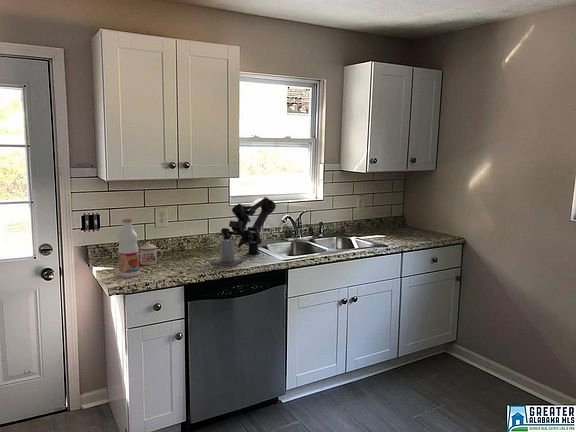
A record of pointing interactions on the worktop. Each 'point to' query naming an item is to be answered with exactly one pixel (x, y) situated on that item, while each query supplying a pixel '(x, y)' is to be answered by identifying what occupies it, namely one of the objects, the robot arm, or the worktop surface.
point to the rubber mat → (227, 263)
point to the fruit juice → (128, 250)
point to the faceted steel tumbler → (227, 251)
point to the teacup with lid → (149, 254)
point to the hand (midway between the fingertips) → (231, 246)
